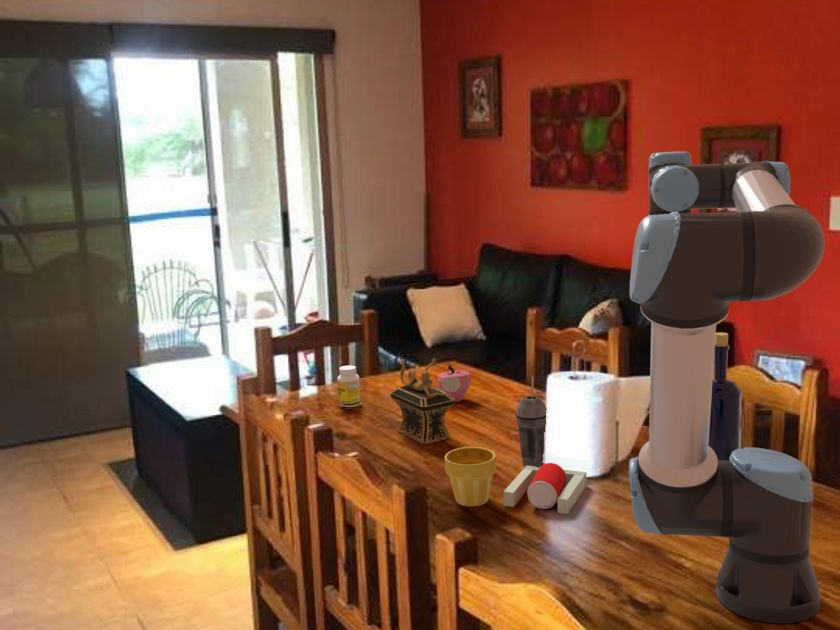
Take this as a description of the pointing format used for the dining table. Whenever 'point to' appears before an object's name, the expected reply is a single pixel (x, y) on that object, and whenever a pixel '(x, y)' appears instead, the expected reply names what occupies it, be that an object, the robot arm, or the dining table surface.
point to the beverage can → (546, 486)
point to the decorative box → (422, 407)
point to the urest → (566, 498)
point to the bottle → (724, 405)
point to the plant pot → (471, 474)
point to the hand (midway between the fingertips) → (668, 361)
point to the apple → (454, 383)
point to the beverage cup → (531, 428)
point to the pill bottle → (348, 387)
